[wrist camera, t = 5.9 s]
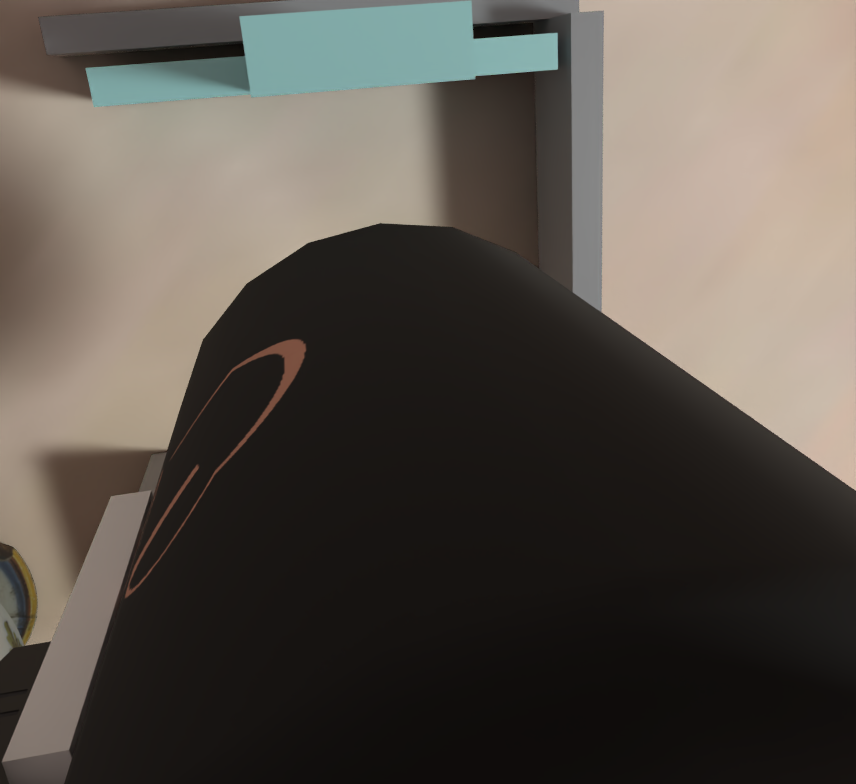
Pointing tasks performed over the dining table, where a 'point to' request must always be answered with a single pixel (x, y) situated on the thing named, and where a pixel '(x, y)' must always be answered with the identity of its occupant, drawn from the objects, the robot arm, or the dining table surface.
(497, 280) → the coffee jar
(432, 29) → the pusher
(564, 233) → the grey piece
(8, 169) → the dining table surface
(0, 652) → the apothecary jar
